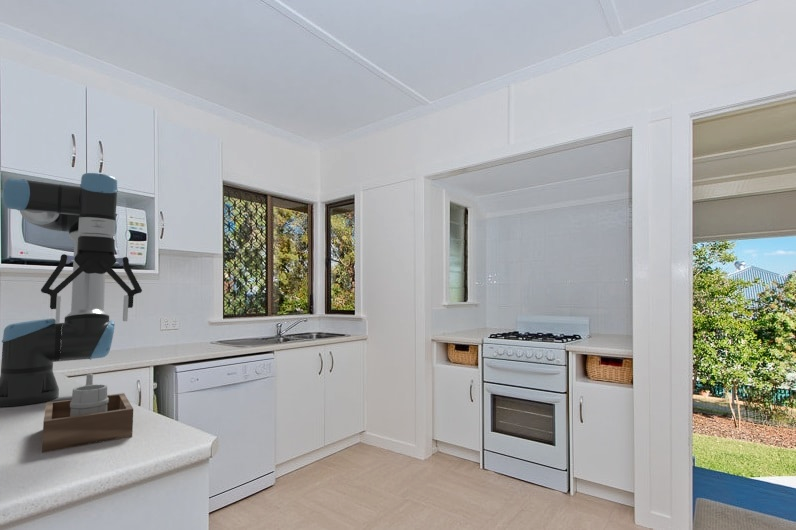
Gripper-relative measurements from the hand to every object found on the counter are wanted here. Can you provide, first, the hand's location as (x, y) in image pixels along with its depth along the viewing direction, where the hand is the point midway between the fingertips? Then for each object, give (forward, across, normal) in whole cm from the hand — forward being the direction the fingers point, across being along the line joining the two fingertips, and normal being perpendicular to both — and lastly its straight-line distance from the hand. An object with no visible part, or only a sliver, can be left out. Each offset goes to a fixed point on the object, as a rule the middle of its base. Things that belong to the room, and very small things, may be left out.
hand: (92, 322), depth 105 cm
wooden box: (+24, 0, -10) cm, 26 cm away
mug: (+24, 0, -10) cm, 26 cm away
